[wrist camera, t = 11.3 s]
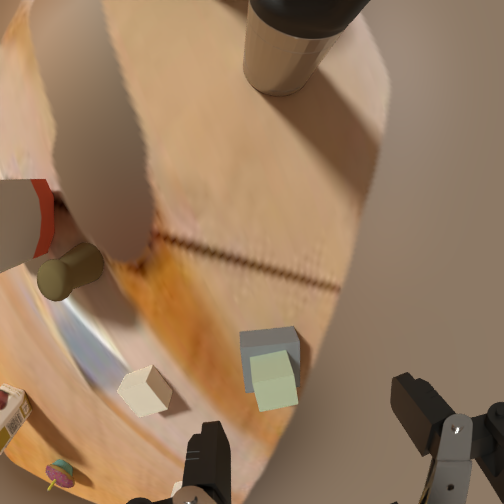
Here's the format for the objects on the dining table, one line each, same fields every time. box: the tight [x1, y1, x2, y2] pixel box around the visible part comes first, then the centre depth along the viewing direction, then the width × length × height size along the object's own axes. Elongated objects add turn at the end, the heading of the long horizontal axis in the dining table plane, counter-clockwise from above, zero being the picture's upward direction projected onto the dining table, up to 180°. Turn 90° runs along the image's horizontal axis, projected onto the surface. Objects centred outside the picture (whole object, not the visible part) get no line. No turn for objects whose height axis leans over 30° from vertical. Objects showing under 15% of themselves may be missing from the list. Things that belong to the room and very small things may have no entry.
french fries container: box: [0, 179, 55, 273], centre depth 29 cm, size 5×11×18 cm, turn 177°
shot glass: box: [170, 481, 183, 498], centre depth 48 cm, size 7×7×7 cm
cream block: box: [117, 365, 173, 418], centre depth 42 cm, size 6×6×5 cm
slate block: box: [240, 326, 300, 393], centre depth 42 cm, size 8×8×5 cm
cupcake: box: [46, 459, 75, 491], centre depth 44 cm, size 9×8×12 cm
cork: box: [37, 243, 104, 301], centre depth 34 cm, size 6×6×11 cm
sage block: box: [250, 350, 298, 412], centre depth 36 cm, size 5×5×6 cm
